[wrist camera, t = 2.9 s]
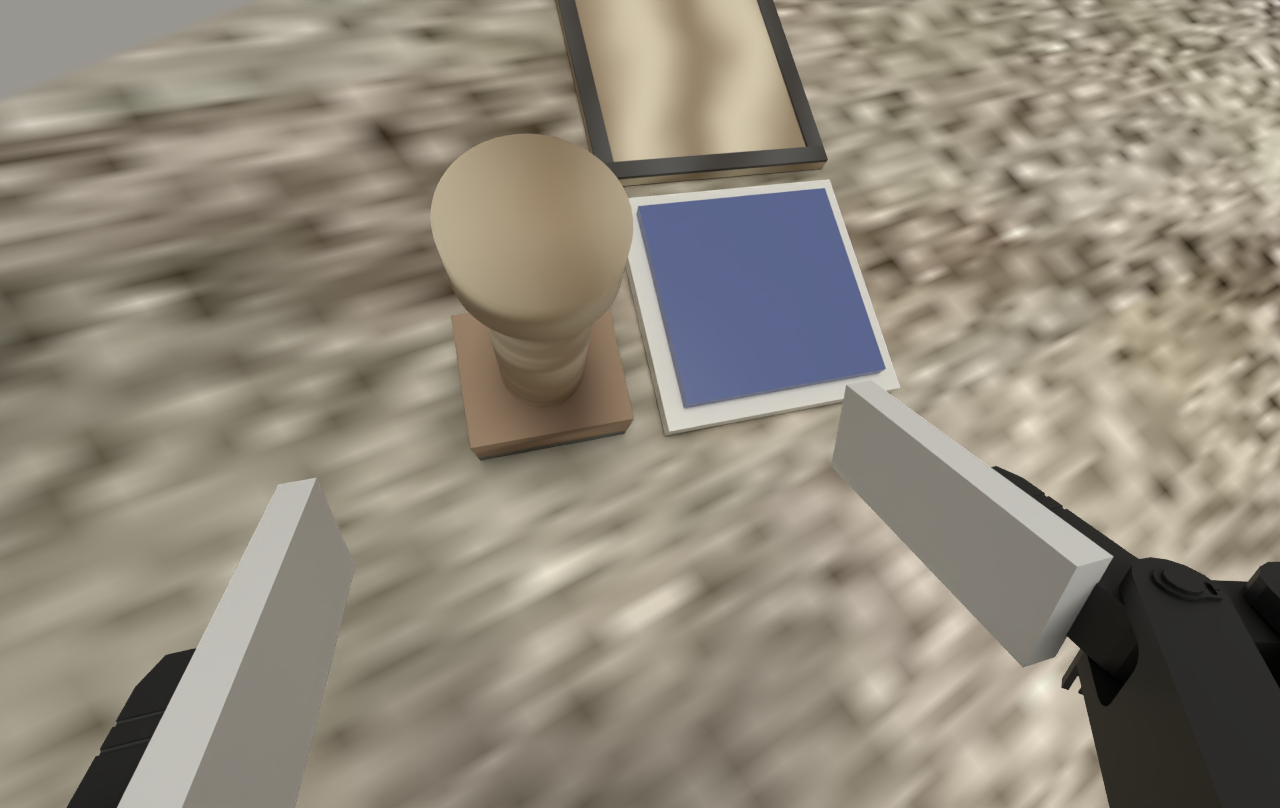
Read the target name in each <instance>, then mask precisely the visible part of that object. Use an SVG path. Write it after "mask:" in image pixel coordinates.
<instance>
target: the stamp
mask: <svg viewBox="0 0 1280 808" xmlns="http://www.w3.org/2000/svg"><path fill="white" fill-rule="evenodd" d="M431 228H432V232H433V237H434V240H435V243H436V246H437V248H438V251H439V254H440V256H441V259H442V262H443V264H444V267H445V269H446V272H447V275H448V277H449V280H450V283H451V285H452V288H453V290H454V292H455V294H456V296H457V297H458V299H459V301H460V302H461V303H462V305H463V306H464V307H465V309H466V310H467V311H468V312H469V314H462V315H454V316H451V320H452V326H453V333H454V340H455V346H456V353H457V360H458V367H459V373H460V380H461V387H462V393H463V400H464V407H465V414H466V420H467V427H468V434H469V440H470V447H471V449H472V451H473V452H474V453H475V454H476V456H477V457H478V458H479V459H480V460H485V459H491V458H496V457H501V456H507V455H512V454H517V453H523V452H528V451H533V450H539V449H544V448H550V447H555V446H560V445H566V444H571V443H576V442H582V441H587V440H592V439H598V438H603V437H608V436H614V435H619V434H624V433H625V432H626V430H627V429H628V427H629V425H630V424H631V422H632V421H633V419H634V418H633V413H632V409H631V404H630V400H629V395H628V391H627V386H626V381H625V377H624V372H623V368H622V363H621V359H620V354H619V350H618V345H617V341H616V336H615V332H614V327H613V323H612V318H611V314H610V309H609V308H610V306H611V304H612V303H613V301H614V300H615V298H616V296H617V293H618V291H619V288H620V285H621V281H622V278H623V274H624V270H625V266H626V262H627V259H628V255H629V251H630V247H631V243H632V238H633V215H632V209H631V205H630V202H629V199H628V196H627V194H626V192H625V190H624V188H623V186H622V185H621V183H620V181H619V180H618V178H617V177H616V176H615V175H614V173H613V172H612V171H611V170H610V169H609V168H608V167H607V166H606V165H605V164H604V163H603V162H602V161H601V160H600V159H598V158H597V157H596V156H594V155H593V154H592V153H590V152H589V151H587V150H585V149H583V148H582V147H580V146H578V145H575V144H573V143H571V142H569V141H566V140H562V139H559V138H556V137H551V136H546V135H538V134H515V135H506V136H502V137H498V138H494V139H491V140H488V141H486V142H483V143H481V144H479V145H477V146H475V147H473V148H471V149H470V150H468V151H467V152H465V153H464V154H462V155H461V156H460V157H459V158H458V159H457V160H456V161H454V162H453V163H452V165H451V166H450V167H449V168H448V169H447V170H446V172H445V173H444V175H443V176H442V178H441V180H440V181H439V183H438V186H437V188H436V190H435V193H434V197H433V201H432V206H431Z"/></svg>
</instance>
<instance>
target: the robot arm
mask: <svg viewBox="0 0 1280 808" xmlns="http://www.w3.org/2000/svg"><path fill="white" fill-rule="evenodd" d="M831 466H832V468H833V469H834V470H835V471H836V472H837V473H838V474H839V475H840V476H841V477H842V478H843V479H844V480H845V481H846V482H847V483H848V484H849V485H850V486H851V487H852V489H853V490H854V491H855V492H856V493H857V494H858V495H859V496H860V497H861V498H862V499H863V500H864V501H865V502H866V503H867V504H868V505H869V506H870V507H871V508H872V510H873V511H874V512H875V513H876V514H877V515H878V516H879V517H880V518H881V519H882V520H883V521H884V522H885V523H886V524H887V525H888V526H889V527H890V528H891V529H892V531H893V532H894V533H895V534H896V535H897V536H898V537H899V538H900V539H901V540H902V541H903V542H904V543H905V544H906V545H907V546H908V547H909V548H910V549H911V550H912V552H913V553H914V554H915V555H916V556H917V557H918V558H919V559H920V560H921V561H922V562H923V563H924V564H925V565H926V566H927V567H928V568H929V569H930V570H931V571H932V572H933V574H934V575H935V576H936V577H937V578H938V579H939V580H940V581H941V582H942V583H943V584H944V585H945V586H946V587H947V588H948V589H949V590H950V591H951V592H952V593H953V595H954V596H955V597H956V598H957V599H958V600H959V601H960V602H961V603H962V604H963V605H964V606H965V607H966V608H967V609H968V610H969V611H970V612H971V613H972V614H973V616H974V617H975V618H976V619H977V620H978V621H979V622H980V623H981V624H982V625H983V626H984V627H985V628H986V629H987V630H988V631H989V632H990V633H991V634H992V635H993V637H994V638H995V639H996V640H997V641H998V642H999V643H1000V644H1001V645H1002V646H1003V647H1004V648H1005V649H1006V650H1007V651H1008V652H1009V653H1010V654H1011V655H1012V656H1013V658H1014V659H1015V660H1016V661H1017V662H1018V663H1019V664H1020V665H1021V666H1022V667H1025V666H1029V665H1032V664H1035V663H1038V662H1041V661H1044V660H1047V659H1050V658H1053V657H1055V656H1056V654H1057V653H1058V651H1059V649H1060V648H1061V646H1062V644H1063V642H1064V641H1065V639H1066V637H1069V638H1070V639H1071V640H1072V641H1073V642H1074V643H1075V644H1076V645H1077V646H1078V647H1079V648H1080V650H1079V652H1078V653H1077V655H1076V657H1075V658H1074V660H1073V662H1072V663H1071V665H1070V666H1069V668H1068V670H1067V671H1066V673H1065V675H1064V676H1063V678H1062V687H1061V688H1064V689H1067V690H1069V688H1070V687H1071V685H1072V683H1073V682H1074V680H1075V679H1076V677H1077V676H1079V678H1080V682H1081V688H1080V690H1079V691H1078V693H1079V694H1082V695H1084V700H1085V704H1086V708H1087V712H1088V717H1089V721H1090V725H1091V730H1092V734H1093V738H1094V742H1095V747H1096V751H1097V755H1098V760H1099V764H1100V768H1101V772H1102V777H1103V781H1104V785H1105V790H1106V794H1107V798H1108V802H1109V807H1110V808H1280V562H1267V563H1266V564H1264V565H1262V566H1260V567H1259V568H1258V570H1257V571H1256V572H1255V574H1254V575H1253V576H1252V577H1251V579H1250V580H1249V581H1248V582H1242V581H1217V580H1210V579H1209V578H1207V577H1206V576H1205V575H1203V574H1201V573H1199V572H1197V571H1195V570H1193V569H1191V568H1189V567H1187V566H1185V565H1182V564H1179V563H1176V562H1173V561H1170V560H1166V559H1159V558H1151V557H1150V558H1143V559H1138V558H1136V557H1135V556H1133V555H1132V554H1130V553H1129V552H1127V551H1126V550H1125V549H1123V548H1122V547H1120V546H1119V545H1118V544H1116V543H1115V542H1113V541H1112V540H1110V539H1109V538H1108V537H1106V536H1105V535H1103V534H1102V533H1101V532H1099V531H1098V530H1096V529H1095V528H1093V527H1092V526H1091V525H1089V524H1088V523H1086V522H1085V521H1083V520H1082V519H1081V518H1079V517H1078V516H1076V515H1075V514H1074V513H1072V512H1071V511H1069V510H1068V509H1063V507H1062V505H1061V504H1059V503H1058V502H1056V501H1055V500H1054V499H1052V498H1051V497H1049V496H1048V497H1046V496H1045V493H1044V492H1042V491H1041V490H1039V489H1038V488H1037V487H1035V486H1034V485H1032V484H1031V483H1029V482H1028V481H1027V480H1025V479H1024V478H1022V477H1020V476H1018V475H1015V474H1013V473H1011V472H1009V471H1006V470H1004V469H1002V468H1000V467H997V466H995V467H990V466H988V465H987V464H986V463H984V462H983V461H981V460H980V459H979V458H977V457H976V456H975V455H973V454H972V453H970V452H969V451H968V450H966V449H965V448H964V447H962V446H961V445H959V444H958V443H957V442H955V441H954V440H953V439H951V438H950V437H948V436H947V435H946V434H944V433H943V432H942V431H940V430H939V429H937V428H936V427H935V426H933V425H932V424H931V423H929V422H928V421H926V420H925V419H924V418H922V417H921V416H920V415H918V414H917V413H915V412H914V411H913V410H911V409H910V408H909V407H907V406H906V405H904V404H903V403H902V402H900V401H899V400H898V399H896V398H895V397H893V396H892V395H891V394H889V393H888V392H887V391H885V390H884V389H882V388H881V387H880V386H878V385H877V384H876V383H874V382H873V381H871V380H870V381H864V382H858V383H853V384H847V385H846V388H845V394H844V399H843V405H842V410H841V416H840V421H839V427H838V432H837V438H836V443H835V449H834V454H833V460H832V465H831ZM354 570H355V564H354V562H353V559H352V557H351V555H350V553H349V550H348V548H347V546H346V543H345V541H344V539H343V537H342V534H341V532H340V530H339V528H338V525H337V523H336V521H335V518H334V516H333V514H332V512H331V509H330V507H329V505H328V503H327V500H326V498H325V496H324V493H323V491H322V489H321V487H320V484H319V482H318V480H317V478H312V479H307V480H301V481H295V482H290V483H284V484H278V486H277V488H276V490H275V492H274V494H273V496H272V498H271V500H270V502H269V504H268V506H267V508H266V510H265V512H264V514H263V516H262V518H261V520H260V522H259V524H258V526H257V528H256V530H255V532H254V534H253V536H252V538H251V540H250V542H249V544H248V546H247V548H246V550H245V552H244V554H243V556H242V558H241V560H240V562H239V564H238V566H237V568H236V570H235V572H234V574H233V576H232V578H231V580H230V582H229V584H228V586H227V588H226V590H225V592H224V594H223V596H222V598H221V600H220V602H219V604H218V606H217V608H216V610H215V612H214V614H213V616H212V618H211V620H210V622H209V624H208V626H207V628H206V630H205V632H204V634H203V636H202V638H201V640H200V642H199V644H198V646H197V648H195V649H190V650H186V651H181V652H177V653H172V654H168V655H165V656H164V657H163V658H162V660H161V661H160V662H159V663H158V664H157V665H156V666H155V667H154V668H153V669H152V670H151V671H150V672H149V673H148V674H147V675H146V676H145V677H144V678H143V679H142V680H141V681H140V682H139V684H138V685H137V686H136V687H135V688H134V690H133V692H132V694H131V695H130V697H129V699H128V701H127V702H126V704H125V706H124V708H123V709H122V711H121V713H120V715H119V716H118V718H117V720H116V721H117V725H116V727H112V729H111V730H110V732H109V734H108V736H107V738H106V739H105V741H104V743H103V745H102V746H101V748H100V750H101V753H100V755H99V756H96V757H95V759H94V760H93V762H92V764H91V766H90V767H89V769H88V771H87V773H86V774H85V776H84V778H83V780H82V781H81V783H80V785H79V787H78V788H77V790H76V792H75V794H74V795H73V797H72V799H71V801H70V803H69V804H68V806H67V808H295V805H296V801H297V797H298V793H299V789H300V785H301V781H302V777H303V773H304V769H305V765H306V761H307V757H308V753H309V749H310V745H311V741H312V737H313V733H314V729H315V725H316V721H317V717H318V713H319V709H320V705H321V701H322V697H323V693H324V689H325V685H326V681H327V677H328V673H329V669H330V665H331V661H332V657H333V653H334V649H335V645H336V641H337V637H338V633H339V629H340V625H341V621H342V617H343V613H344V609H345V605H346V601H347V597H348V593H349V589H350V585H351V581H352V577H353V574H354Z"/></svg>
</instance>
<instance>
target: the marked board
mask: <svg viewBox="0 0 1280 808" xmlns="http://www.w3.org/2000/svg"><path fill="white" fill-rule="evenodd" d="M555 1H556V5H557V10H558V14H559V18H560V23H561V27H562V31H563V36H564V40H565V45H566V49H567V53H568V58H569V62H570V66H571V71H572V75H573V79H574V84H575V88H576V93H577V97H578V101H579V106H580V110H581V114H582V119H583V123H584V127H585V132H586V136H587V141H588V145H589V149H590V153H592V154H593V155H594V156H596V157H597V158H598V159H600V160H601V161H602V162H603V163H604V164H605V165H606V166H607V167H608V168H609V169H610V170H611V171H612V172H613V173H614V175H615V176H616V177H617V178H618V180H619V181H620V183H621V185H622V186H630V185H641V184H652V183H664V182H675V181H686V180H697V179H709V178H720V177H731V176H743V175H754V174H765V173H777V172H788V171H799V170H811V169H821V168H822V167H823V166H824V164H825V163H826V161H827V160H828V159H827V156H826V153H825V150H824V147H823V144H822V141H821V138H820V135H819V133H818V130H817V127H816V124H815V121H814V118H813V115H812V112H811V109H810V106H809V103H808V101H807V98H806V95H805V92H804V89H803V86H802V83H801V80H800V77H799V74H798V71H797V69H796V66H795V63H794V60H793V57H792V54H791V51H790V48H789V45H788V42H787V39H786V37H785V34H784V31H783V28H782V25H781V22H780V19H779V16H778V13H777V10H776V7H775V5H774V2H773V0H555Z"/></svg>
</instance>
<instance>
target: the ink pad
mask: <svg viewBox="0 0 1280 808" xmlns="http://www.w3.org/2000/svg"><path fill="white" fill-rule="evenodd" d="M628 199H629V202H630V205H631V209H632V215H633V238H632V243H631V247H630V251H629V255H628V259H627V262H626V271H627V275H628V279H629V283H630V288H631V292H632V296H633V301H634V305H635V309H636V313H637V318H638V322H639V326H640V331H641V335H642V339H643V343H644V348H645V352H646V356H647V361H648V365H649V369H650V373H651V378H652V382H653V386H654V391H655V395H656V399H657V403H658V408H659V412H660V416H661V421H662V425H663V429H664V433H665V436H666V435H672V434H677V433H682V432H687V431H693V430H698V429H703V428H708V427H714V426H719V425H724V424H729V423H735V422H740V421H745V420H750V419H756V418H761V417H766V416H771V415H777V414H782V413H787V412H792V411H797V410H803V409H808V408H813V407H818V406H824V405H829V404H834V403H839V402H843V399H844V394H845V388H846V385H847V384H853V383H858V382H864V381H870V380H871V381H873V382H874V383H876V384H877V385H878V386H880V387H881V388H882V389H884V390H885V391H887V392H888V393H890V392H893V391H895V390H897V389H899V388H900V385H899V382H898V379H897V376H896V373H895V370H894V368H893V365H892V362H891V359H890V356H889V353H888V350H887V347H886V344H885V341H884V338H883V335H882V332H881V329H880V326H879V324H878V321H877V318H876V315H875V312H874V309H873V306H872V303H871V300H870V297H869V294H868V291H867V288H866V285H865V283H864V280H863V277H862V274H861V271H860V268H859V265H858V262H857V259H856V256H855V253H854V250H853V247H852V244H851V241H850V239H849V236H848V233H847V230H846V227H845V224H844V221H843V218H842V215H841V212H840V209H839V206H838V203H837V200H836V198H835V195H834V192H833V189H832V186H831V183H830V180H818V181H808V182H797V183H786V184H776V185H765V186H754V187H743V188H733V189H722V190H711V191H701V192H690V193H679V194H669V195H658V196H647V197H636V198H628Z"/></svg>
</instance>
